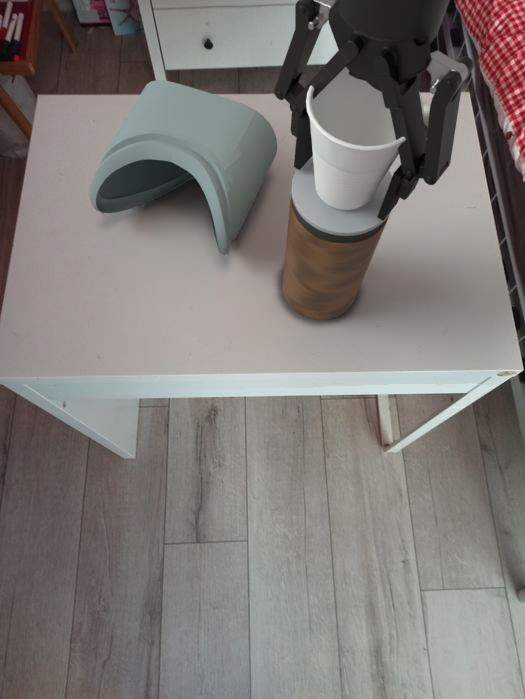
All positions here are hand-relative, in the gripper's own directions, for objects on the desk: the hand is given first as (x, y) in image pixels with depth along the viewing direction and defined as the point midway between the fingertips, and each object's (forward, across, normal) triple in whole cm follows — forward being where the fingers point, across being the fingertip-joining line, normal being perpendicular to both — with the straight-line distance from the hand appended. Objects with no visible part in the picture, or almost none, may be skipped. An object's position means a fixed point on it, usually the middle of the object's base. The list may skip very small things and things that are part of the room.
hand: (344, 184), depth 51 cm
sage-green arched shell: (+23, -25, 0) cm, 34 cm away
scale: (+3, 0, 0) cm, 3 cm away
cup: (+1, 0, 0) cm, 1 cm away
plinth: (+23, 0, 0) cm, 23 cm away
